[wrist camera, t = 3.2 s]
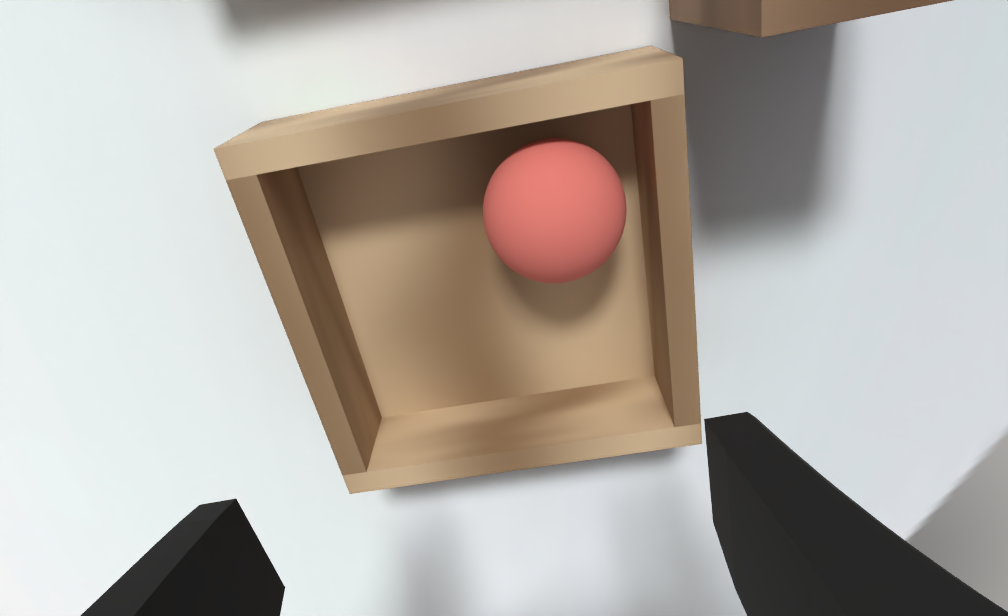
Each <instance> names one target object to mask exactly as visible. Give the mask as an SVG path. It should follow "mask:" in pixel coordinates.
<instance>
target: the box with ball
mask: <svg viewBox="0 0 1008 616" xmlns="http://www.w3.org/2000/svg"><path fill="white" fill-rule="evenodd" d="M550 138H562V139H568V140H573V141H577V142H580V143H582V144H585V145H587V146H589V147H591V148H592V149H594V150H596V151H597V152H598V153H599V154H601V155H602V156H603V157H604V158H605V159H606V160H607V161H608V162H609V163H610V164H611V165H612V167H613V168H614V170H615V171H616V173H617V174H618V177H619V179H620V181H621V183H622V186H623V189H624V192H625V197H626V207H627V213H626V223H625V227H624V231H623V234H622V237H621V239H620V241H619V243H618V245H617V247H616V249H615V250H614V252H613V253H612V254H611V256H610V257H609V258H608V259H607V260H606V261H605V263H604V264H602V265H601V266H600V267H599V268H598V269H596V270H595V271H593V272H592V273H590V274H588V275H586V276H584V277H582V278H579V279H576V280H573V281H569V282H564V283H544V282H538V281H534V280H531V279H528V278H526V277H524V276H522V275H520V274H518V273H516V272H515V271H514V270H512V269H511V268H509V267H508V266H507V265H506V264H505V263H504V262H503V261H502V260H501V259H500V258H499V257H498V255H497V254H496V253H495V251H494V249H493V248H492V246H491V244H490V242H489V240H488V237H487V235H486V231H485V227H484V220H483V202H484V196H485V193H486V189H487V186H488V184H489V181H490V179H491V177H492V175H493V174H494V172H495V170H496V169H497V168H498V166H499V165H500V164H501V163H502V162H503V161H504V160H505V159H506V158H507V157H508V156H509V155H510V154H512V153H513V152H514V151H516V150H517V149H519V148H521V147H522V146H524V145H526V144H529V143H531V142H534V141H538V140H542V139H550ZM214 151H215V154H216V157H217V159H218V162H219V164H220V167H221V169H222V172H223V174H224V177H225V179H226V182H227V184H228V187H229V189H230V192H231V195H232V197H233V200H234V202H235V205H236V207H237V210H238V212H239V215H240V217H241V220H242V222H243V225H244V227H245V230H246V232H247V235H248V238H249V240H250V243H251V245H252V248H253V250H254V253H255V255H256V258H257V260H258V263H259V265H260V268H261V270H262V273H263V275H264V278H265V281H266V283H267V286H268V288H269V291H270V293H271V296H272V298H273V301H274V303H275V306H276V308H277V311H278V313H279V316H280V318H281V321H282V324H283V326H284V329H285V331H286V334H287V336H288V339H289V341H290V344H291V346H292V349H293V351H294V354H295V356H296V359H297V362H298V364H299V367H300V369H301V372H302V374H303V377H304V379H305V382H306V384H307V387H308V389H309V392H310V394H311V397H312V399H313V402H314V405H315V407H316V410H317V412H318V415H319V417H320V420H321V422H322V425H323V427H324V430H325V432H326V435H327V437H328V440H329V442H330V445H331V448H332V450H333V453H334V455H335V458H336V460H337V463H338V465H339V468H340V470H341V473H342V475H343V478H344V480H345V483H346V485H347V488H348V491H349V493H350V494H353V493H360V492H367V491H374V490H381V489H388V488H395V487H402V486H409V485H416V484H423V483H430V482H437V481H444V480H451V479H458V478H465V477H472V476H479V475H486V474H493V473H500V472H507V471H514V470H521V469H528V468H535V467H542V466H549V465H556V464H563V463H570V462H577V461H584V460H592V459H599V458H606V457H613V456H620V455H627V454H634V453H641V452H648V451H655V450H662V449H669V448H676V447H683V446H690V445H697V444H702V435H701V415H700V394H699V374H698V354H697V334H696V314H695V294H694V274H693V254H692V234H691V213H690V193H689V173H688V153H687V133H686V113H685V93H684V73H683V58H681V57H679V56H676V55H673V54H671V53H668V52H666V51H663V50H661V49H658V48H656V47H653V46H647V47H642V48H637V49H632V50H627V51H622V52H617V53H612V54H607V55H601V56H596V57H591V58H586V59H581V60H576V61H571V62H566V63H561V64H555V65H550V66H545V67H540V68H535V69H530V70H525V71H520V72H515V73H509V74H504V75H499V76H494V77H489V78H484V79H479V80H474V81H469V82H463V83H458V84H453V85H448V86H443V87H438V88H433V89H428V90H423V91H417V92H412V93H407V94H402V95H397V96H392V97H387V98H382V99H377V100H372V101H366V102H361V103H356V104H351V105H346V106H341V107H336V108H331V109H326V110H320V111H315V112H310V113H305V114H300V115H295V116H290V117H285V118H280V119H274V120H269V121H264V122H261V123H259V124H257V125H255V126H254V127H252V128H250V129H248V130H246V131H245V132H243V133H241V134H239V135H237V136H236V137H234V138H232V139H230V140H228V141H227V142H225V143H223V144H221V145H220V146H218V147H216V148H214Z"/></svg>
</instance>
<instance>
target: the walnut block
mask: <svg viewBox="0 0 1008 616" xmlns="http://www.w3.org/2000/svg"><path fill="white" fill-rule="evenodd" d="M947 1H952V0H669V7H670V19H671V20H676V21H681V22H686V23H691V24H696V25H701V26H706V27H711V28H716V29H721V30H726V31H731V32H736V33H741V34H746V35H751V36H756V37H767V36H772V35H777V34H782V33H787V32H792V31H798V30H803V29H808V28H813V27H818V26H823V25H828V24H834V23H839V22H844V21H849V20H854V19H859V18H865V17H870V16H875V15H880V14H885V13H890V12H895V11H901V10H906V9H911V8H916V7H921V6H926V5H932V4H937V3H942V2H947Z"/></svg>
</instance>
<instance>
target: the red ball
mask: <svg viewBox="0 0 1008 616" xmlns="http://www.w3.org/2000/svg"><path fill="white" fill-rule="evenodd" d="M626 213H627V207H626V197H625V192H624V189H623V186H622V183H621V181H620V179H619V177H618V174H617V173H616V171H615V170H614V168H613V167H612V165H611V164H610V163H609V162H608V161H607V160H606V159H605V158H604V157H603V156H602V155H601V154H599V153H598V152H597V151H596V150H594V149H592V148H591V147H589V146H587V145H585V144H582V143H580V142H577V141H573V140H568V139H562V138H550V139H542V140H538V141H534V142H531V143H529V144H526V145H524V146H522V147H521V148H519V149H517V150H516V151H514V152H513V153H512V154H510V155H509V156H508V157H507V158H506V159H505V160H504V161H503V162H502V163H501V164H500V165H499V166H498V168H497V169H496V170H495V172H494V174H493V175H492V177H491V179H490V181H489V184H488V186H487V189H486V193H485V196H484V202H483V220H484V227H485V231H486V235H487V237H488V240H489V242H490V244H491V246H492V248H493V249H494V251H495V253H496V254H497V255H498V257H499V258H500V259H501V260H502V261H503V262H504V263H505V264H506V265H507V266H508V267H509V268H511V269H512V270H514V271H515V272H516V273H518V274H520V275H522V276H524V277H526V278H528V279H531V280H534V281H538V282H544V283H564V282H569V281H573V280H576V279H579V278H582V277H584V276H586V275H588V274H590V273H592V272H593V271H595V270H596V269H598V268H599V267H600V266H601V265H602V264H604V263H605V261H606V260H607V259H608V258H609V257H610V256H611V254H612V253H613V252H614V250H615V249H616V247H617V245H618V243H619V241H620V239H621V237H622V234H623V231H624V227H625V223H626Z"/></svg>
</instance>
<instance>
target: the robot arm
mask: <svg viewBox="0 0 1008 616" xmlns="http://www.w3.org/2000/svg"><path fill="white" fill-rule="evenodd" d="M704 421H705V432H706V444H707V456H708V467H709V479H710V491H711V502H712V514H713V523H714V526H715V529H716V532H717V535H718V538H719V541H720V544H721V547H722V550H723V553H724V557H725V560H726V563H727V565H728V568H729V571H730V574H731V577H732V580H733V583H734V586H735V589H736V591H737V594H738V596H739V598H740V600H741V603H742V605H743V607H744V609H745V612H746V614H747V616H1008V612H1007V611H1006V610H1004V609H1003V608H1001V607H999V606H998V605H996V604H995V603H993V602H992V601H990V600H989V599H987V598H986V597H984V596H983V595H981V594H979V593H978V592H977V591H975V590H974V589H973V588H971V587H970V586H968V585H967V584H965V583H964V582H962V581H961V580H959V579H958V578H957V577H955V576H954V575H952V574H951V573H949V572H948V571H946V570H945V569H943V568H942V567H941V566H939V565H938V564H937V563H935V562H934V561H933V560H931V559H930V558H928V557H927V556H925V555H924V554H923V553H921V552H920V551H919V550H917V549H916V548H914V547H913V546H911V545H910V544H909V543H907V542H906V541H905V540H903V539H902V538H901V537H899V536H898V535H897V534H895V533H894V532H893V531H891V530H890V529H889V528H887V527H886V526H885V525H883V524H882V523H881V522H880V521H878V520H877V519H876V518H875V517H873V516H872V515H871V514H869V513H868V512H867V511H866V510H864V509H863V508H862V507H861V506H859V505H858V504H857V503H855V502H854V501H853V500H852V499H850V498H849V497H848V496H847V495H845V494H844V493H843V492H842V491H840V490H839V489H838V488H837V487H835V486H834V485H833V484H832V483H830V482H829V481H828V480H827V479H826V478H824V477H823V476H822V475H821V474H820V473H818V472H817V471H816V470H815V469H814V468H813V467H811V466H810V465H809V464H808V463H807V462H805V461H804V460H803V459H802V458H801V457H800V456H798V455H797V454H796V453H795V452H794V451H793V450H792V449H790V448H789V447H788V446H787V445H786V444H785V443H784V442H782V441H781V440H780V439H779V438H778V437H777V436H776V435H775V434H773V433H772V432H771V431H770V430H769V429H768V428H767V427H766V426H765V425H763V424H762V423H761V422H760V421H759V420H758V419H757V418H756V417H754V416H753V415H751V414H750V413H748V412H744V413H738V414H732V415H726V416H720V417H714V418H708V419H704ZM284 590H285V587H284V585H283V583H282V581H281V579H280V577H279V576H278V574H277V572H276V570H275V568H274V567H273V565H272V563H271V561H270V559H269V557H268V556H267V554H266V552H265V550H264V548H263V547H262V545H261V543H260V541H259V539H258V537H257V536H256V534H255V532H254V530H253V528H252V527H251V525H250V523H249V521H248V519H247V518H246V516H245V514H244V512H243V510H242V508H241V507H240V505H239V503H238V501H237V499H231V500H226V501H220V502H214V503H208V504H202V505H199V506H198V507H197V508H195V509H194V510H193V511H192V512H191V513H190V514H188V515H187V516H186V517H185V518H184V519H183V520H181V521H180V522H179V523H178V524H177V525H176V526H175V527H174V528H173V529H171V530H170V531H169V532H168V533H167V534H166V535H165V536H164V537H163V538H162V539H161V540H160V541H159V542H157V543H156V544H155V545H154V546H153V547H152V548H151V549H150V550H149V551H148V552H147V553H146V554H145V555H144V556H143V557H142V558H141V559H140V560H139V561H137V562H136V563H135V564H134V565H133V566H132V567H131V568H130V569H129V570H128V571H127V572H126V573H125V574H124V575H123V576H122V577H121V578H120V579H119V580H118V581H117V582H115V583H114V584H113V585H112V586H111V587H110V588H109V589H108V590H107V591H106V592H105V593H104V594H103V595H102V596H101V597H100V598H99V599H98V600H97V601H96V602H94V603H93V604H92V605H91V606H90V607H89V608H88V609H87V610H86V611H85V612H84V613H83V614H82V615H81V616H280V612H281V606H282V601H283V596H284Z"/></svg>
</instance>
